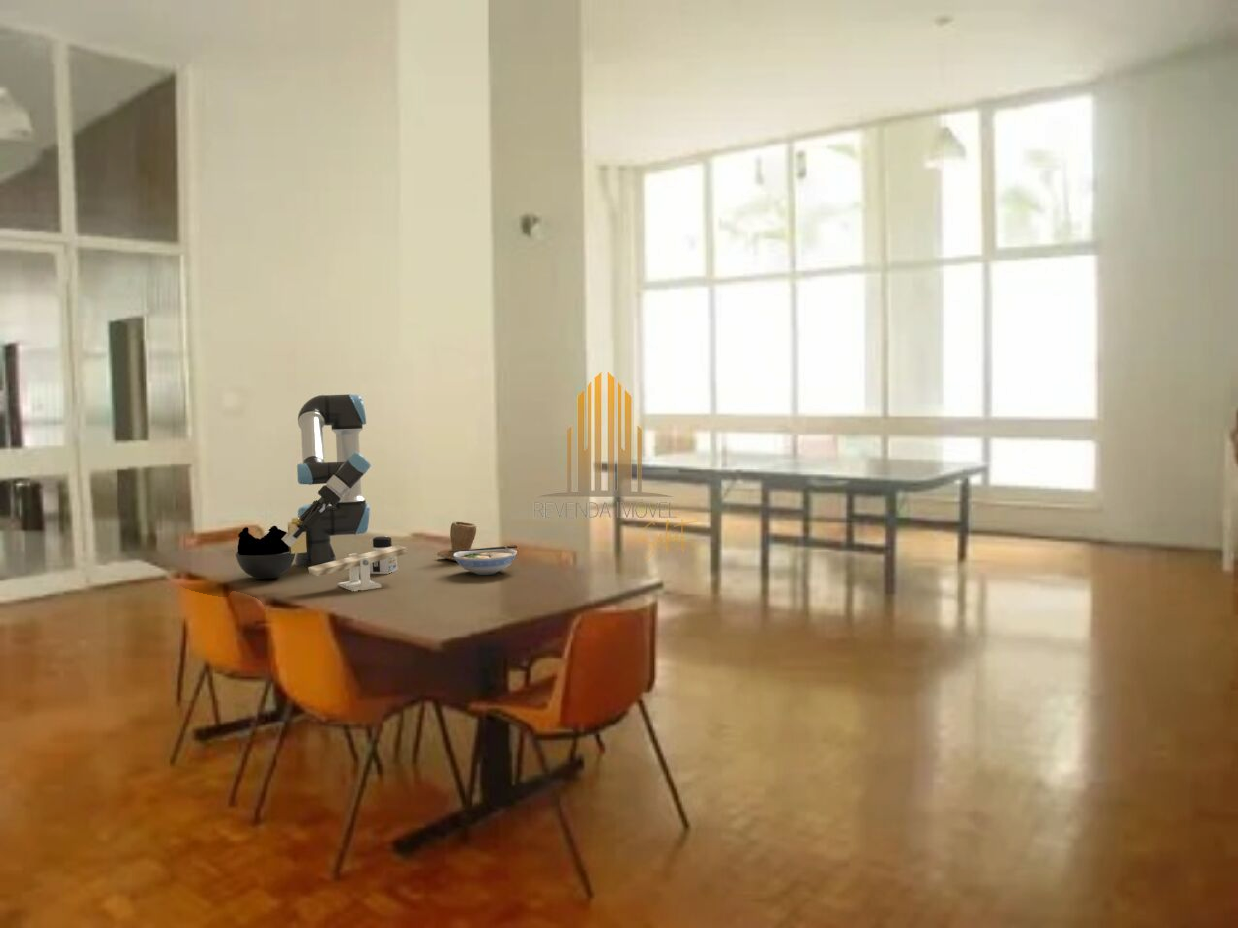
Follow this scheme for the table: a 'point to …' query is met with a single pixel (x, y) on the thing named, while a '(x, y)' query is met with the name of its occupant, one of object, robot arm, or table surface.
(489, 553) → the ramen bowl
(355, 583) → the beam stand
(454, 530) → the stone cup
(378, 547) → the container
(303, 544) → the brass weight
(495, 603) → the table surface
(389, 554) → the balance beam
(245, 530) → the coal bowl
